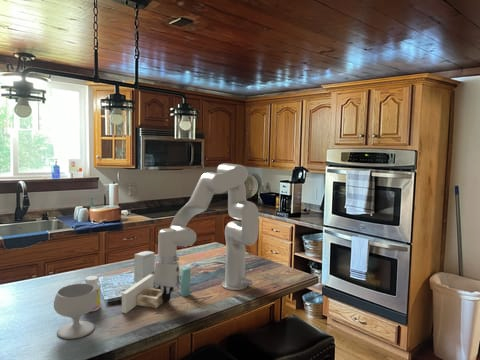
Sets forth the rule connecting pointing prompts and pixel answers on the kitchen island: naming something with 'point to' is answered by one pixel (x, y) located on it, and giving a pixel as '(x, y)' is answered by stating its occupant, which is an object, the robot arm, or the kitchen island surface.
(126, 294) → the wall
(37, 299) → the kitchen island surface
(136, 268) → the skincare box
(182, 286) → the dowel
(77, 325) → the chalice
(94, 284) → the supplement bottle
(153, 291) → the light wooden square frame
